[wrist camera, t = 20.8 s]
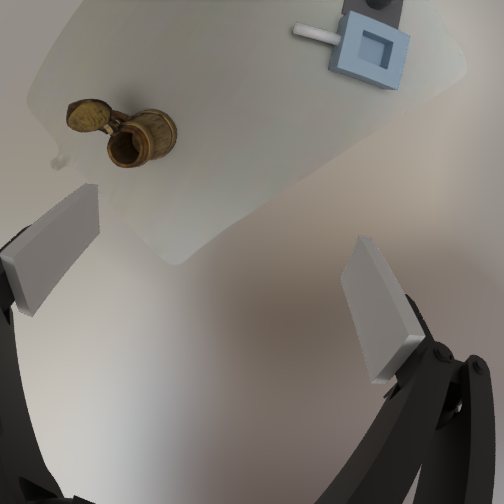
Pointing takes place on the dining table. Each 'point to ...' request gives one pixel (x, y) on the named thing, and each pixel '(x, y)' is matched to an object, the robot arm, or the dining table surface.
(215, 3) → the dining table surface
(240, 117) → the dining table surface
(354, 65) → the block
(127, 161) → the wooden mug
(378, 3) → the bottle
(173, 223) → the dining table surface
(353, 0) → the mat
